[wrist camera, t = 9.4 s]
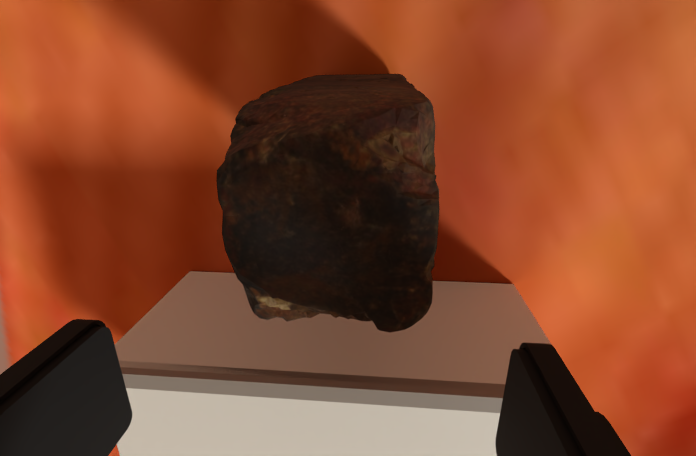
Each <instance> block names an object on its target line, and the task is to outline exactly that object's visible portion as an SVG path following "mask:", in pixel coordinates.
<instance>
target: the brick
mask: <svg viewBox="0 0 696 456" xmlns="http://www.w3.org/2000/svg"><path fill="white" fill-rule="evenodd" d="M235 120H236V124H235V126H234V128H233V130H232V133H231V145H230V147H229V149H228V151H227V153H226V157H225V161H224V163H223V164H222V165H221V166H220V167H219V169H218V170H217V190H218V200H219V202H220V205H221V207H222V210H223V224H222V235H223V240H224V245H225V250H226V253H227V255H228V257H229V260H230V262H231V264H232V267H233V269H234V272H235V274H236V276H237V279H238V280H239V281H240V282H241V283H242V284H243V287H244V290H245V293H246V296H247V299H248V302H249V305H250V307H251V309H252V311H253V313H254V314H255V315H256V316H258V317H259V318H260V319H265V320H269V319H272V318H276V317H279V318H283V319H284V320H285V321H287V322H288V321H292V320H296V319H300V318H306V317H307V318H312V317H314V316H316V315H318V314H330V315H332V316H333V317H335V318H337V317H343V318H346V319H348V320H349V319H355V320H359V321H373V323H374V324H375V326H376V328H377V329H378V330H380V331H384V332H389V333H391V332H396V331H401V330H405V329H407V328H409V327H411V326H413V325H414V324H415V323H417V322H418V321H419V320H421V319H422V318H423V317H424V316H425V315H426V314H427V312H428V310H429V308H430V306H431V304H432V296H433V279H432V274H431V270H432V269H433V267H434V256H435V252H436V248H437V236H438V221H439V189H438V186H437V183H436V181H435V179H436V175H435V172H434V171H435V157H434V141H435V121H434V113H433V106H432V104H431V102H430V100H429V99H428V98H427V97H425V95H424V94H422V93H421V92H420V91H417V90H416V89H415V88H414V85H412V84H409V82H408V81H406V78H405V77H404V76H403V75H401V74H374V75H317V76H313V77H308V78H305V79H302V80H300V81H296V82H293V83H291V84H289V85H285V86H281V87H278V88H276V89H273V90H270V91H268V92H266V93H264V94H262V95H261V96H260V98H259V99H257V100H254V101H250V102H249V103H247V104H246V105H245V106H243V107H242V109H241V110H240V111H239V113H238V115H237V117H236V119H235Z"/></svg>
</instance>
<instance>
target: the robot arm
mask: <svg viewBox="0 0 696 456" xmlns="http://www.w3.org/2000/svg"><path fill="white" fill-rule="evenodd" d="M131 420H132V409H131V405H130V402H129V398H128V394H127V390H126V387H125V383H124V379H123V375H122V371H121V368H120V364H119V360H118V356H117V353H116V349H115V345H114V341H113V338H112V334H111V331H110V329H109V328H107V327H106V326H105V324H104V323H103V322H102V321H99V320H83V319H76V320H72V321H70V322H69V323H67V324H66V325H65V326H63V327H62V328H61V329H59V330H58V331H57V332H55V333H54V334H53V335H52V336H50V337H49V338H48V339H46V340H45V341H44V342H42V343H41V344H40V345H38V346H37V347H36V348H35V349H33V350H32V351H31V352H29V353H28V354H27V355H25V356H24V357H23V358H21V359H20V360H19V361H18V362H16V363H15V364H14V365H12V366H11V367H10V368H8V369H7V370H6V371H4V372H3V373H2V374H1V375H0V456H108V455H109V454H110V452H111V451H112V450H113V448H114V447H115V445H116V444H117V443H118V441H119V440H120V439H121V437H122V436H123V435H124V433H125V432H126V431H127V429H128V427H129V426H130V423H131ZM495 445H496V454H497V456H631V455H630V453H629V452H628V450H627V449H626V447H625V446H624V444H623V443H622V441H621V440H620V438H619V436H618V435H617V433H616V432H615V430H614V429H613V427H612V426H611V424H610V423H609V422H608V420H607V419H606V418H605V417H604V416H603V415H602V414H600V413H599V412H595V411H594V410H593V408H592V406H591V405H590V403H589V402H588V400H587V399H586V397H585V395H584V394H583V392H582V391H581V389H580V388H579V386H578V384H577V383H576V381H575V380H574V378H573V376H572V375H571V373H570V372H569V370H568V369H567V367H566V365H565V364H564V362H563V361H562V359H561V357H560V356H559V354H558V353H557V351H556V350H555V348H554V347H553V346H552V345H551V344H545V343H525V342H524V343H522V344H521V345H520V348H519V349H513V350H512V352H511V356H510V361H509V367H508V372H507V378H506V383H505V389H504V395H503V400H502V406H501V411H500V417H499V422H498V428H497V434H496V441H495Z"/></svg>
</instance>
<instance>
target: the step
mask: <svg viewBox="0 0 696 456" xmlns="http://www.w3.org/2000/svg"><path fill="white" fill-rule="evenodd" d="M524 342H525V343H545V344H551V343H550V341H549V340H548V338H547V337H546V335H545V333H544V332H543V330H542V329H541V327H540V325H539V324H538V322H537V321H536V319H535V317H534V316H533V314H532V313H531V311H530V310H529V308H528V306H527V305H526V303H525V302H524V300H523V298H522V297H521V295H520V294H519V292H518V290H517V289H516V287H515V286H514V284H501V283H475V282H450V281H433V296H432V304H431V306H430V308H429V310H428V312H427V314H426V315H425V316H424V317H423V318H422V319H421V320H419V321H418V322H417V323H415V324H414V325H413V326H411V327H409V328H407V329H405V330H401V331H396V332H391V333H389V332H384V331H380V330H378V329H377V328H376V326H375V324H374V323H373V321H359V320H355V319H349V320H348V319H346V318H343V317H337V318H335V317H333V316H332V315H330V314H318V315H316V316H314V317H312V318H307V317H306V318H300V319H296V320H292V321H288V322H287V321H285V320H284V319H283V318H279V317H276V318H272V319H269V320H265V319H260V318H259V317H258V316H256V315H255V314H254V313H253V311H252V309H251V307H250V305H249V302H248V299H247V296H246V293H245V290H244V287H243V284H242V283H241V282H240V281H239V280H238V279H237V276H236V274H235V273H223V272H197V271H190V272H189V273H188V274H187V275H186V276H184V277H183V278H182V279H181V280H180V281H179V282H178V283H177V284H176V285H175V286H174V287H173V288H172V289H171V290H170V291H169V292H168V293H167V294H166V295H165V296H164V297H163V298H162V299H161V300H160V301H159V302H158V303H157V304H156V305H155V306H154V307H153V308H152V309H151V310H150V311H149V312H148V313H147V314H146V315H145V316H144V317H142V318H141V319H140V320H139V321H138V322H137V323H136V324H135V325H134V326H133V327H132V328H131V329H130V330H129V331H128V332H127V333H126V334H125V335H124V336H123V337H122V338H121V339H120V340H119V341H118V342H117V343H116V344H115V349H116V353H117V356H118V360H119V364H120V368H121V371H122V375H123V379H124V383H125V387H126V390H127V394H128V398H129V402H130V405H131V409H132V420H131V423H130V426H129V427H128V429H127V431H126V432H125V433H124V435H123V436H122V437H121V439H120V440H119V441H118V443H117V447H118V450H119V453H120V456H497V454H496V445H495V441H496V434H497V428H498V422H499V417H500V411H501V406H502V400H503V395H504V389H505V383H506V378H507V372H508V367H509V361H510V356H511V352H512V350H513V349H519V348H520V345H521V344H522V343H524ZM551 345H552V344H551Z"/></svg>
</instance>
